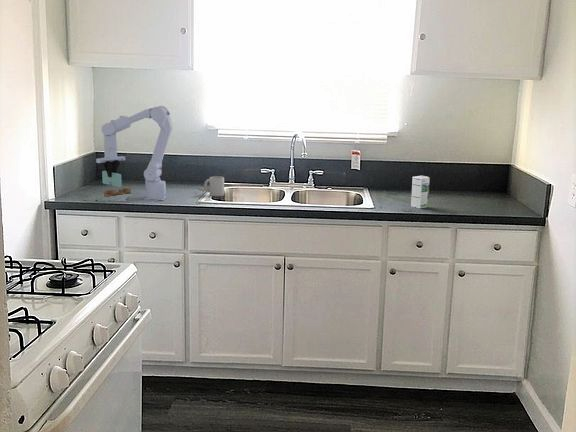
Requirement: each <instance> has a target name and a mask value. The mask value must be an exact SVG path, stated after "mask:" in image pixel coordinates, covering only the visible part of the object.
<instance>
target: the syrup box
mask: <svg viewBox="0 0 576 432" xmlns="http://www.w3.org/2000/svg"><path fill="white" fill-rule="evenodd" d="M411 183H412V184H411V201H410V207H412V208H415V207H416V208H415V209H425V208H429V198H430V196H429V195H430V177H429V176H426V175H417V176H412V181H411Z"/></svg>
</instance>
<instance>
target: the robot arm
mask: <svg viewBox="0 0 576 432" xmlns="http://www.w3.org/2000/svg"><path fill="white" fill-rule="evenodd" d="M144 119H148V120H149V119H152V120H153V121H155V123H157V125H158V126H159V128H160V130H159V133H158V136H157V140H156V143H155V146H154V150H153V153H152V156H151V159H150V161H149V163H148V166H147V167H146V169H145V170H144V171H143V177H144V181H145V183H144V185H145V197H146V198H147V199H146V200H150V199H157V200H158V201H165V200H166V198H167V188H166V187H167V186H166V185H167V183H166V181H165V180H162V179H161V176H162V173H163V172H162V167H163V158H164V156H165V153H166V149H167V146H168V143H169V140H170V138H171V137H170V136H171V133H172V130H173V123H172V119H171V112H170V111H169V110H168V108H167V107H166V106H164V105H158V106H154V107H152V108H151V107H150V108H146V109H144V110H140V112H137V113H135V114H132V115H130V116H126V115H120V116H118V118H116V119H112V120H110V121H109V122H104V124H103V125H102V126H101V133H102V134H103V148H104V157H99V158H95V160H96V161H95V163H97V164H101V163H102V165H103V167H104V169H105V171H106V172H107V175H108V177H112V172H113V173H117V172H118V168H119V166H120V164H121V162H120V161H126V156H124V155H123V156H122V155H118V149H117V148H118V147H117V133H120V132H122V131H124V130H127V129H129V128H131V125H132V124H133V123H135V122H139V121H140V120H144Z"/></svg>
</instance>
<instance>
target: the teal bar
mask: <svg viewBox="0 0 576 432" xmlns="http://www.w3.org/2000/svg"><path fill="white" fill-rule="evenodd" d="M101 174H102V175H101V176H102V184H104V185H108V186H112V187H116V188H122V187H123V186H122V185H123V184H122V183H123V182H122V174H121V173H117V172H116V173H113V172H112V177H108V175H107V172H106V170H102V171H101Z"/></svg>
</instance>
